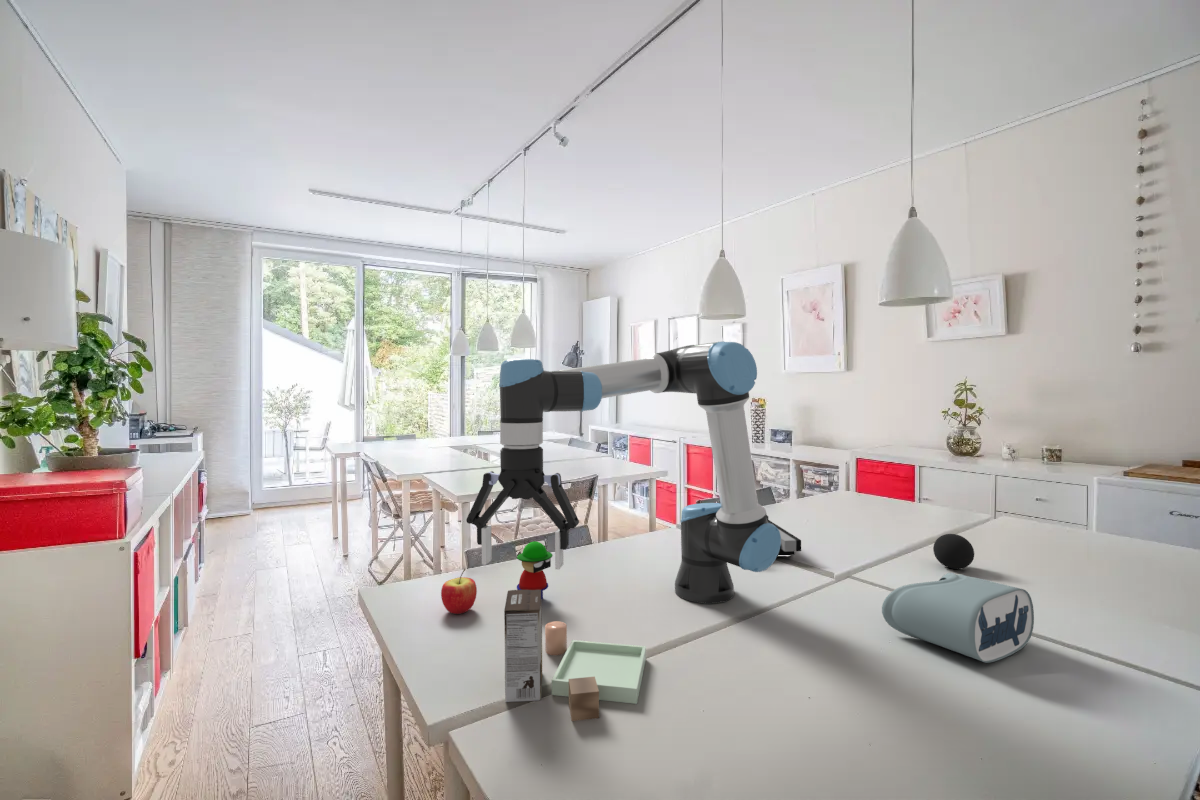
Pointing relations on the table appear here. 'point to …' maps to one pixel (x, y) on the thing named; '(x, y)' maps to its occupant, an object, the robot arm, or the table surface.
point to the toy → (534, 567)
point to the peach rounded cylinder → (556, 638)
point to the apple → (459, 594)
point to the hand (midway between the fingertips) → (522, 564)
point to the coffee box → (523, 645)
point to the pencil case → (963, 615)
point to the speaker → (953, 551)
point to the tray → (603, 669)
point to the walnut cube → (583, 698)
